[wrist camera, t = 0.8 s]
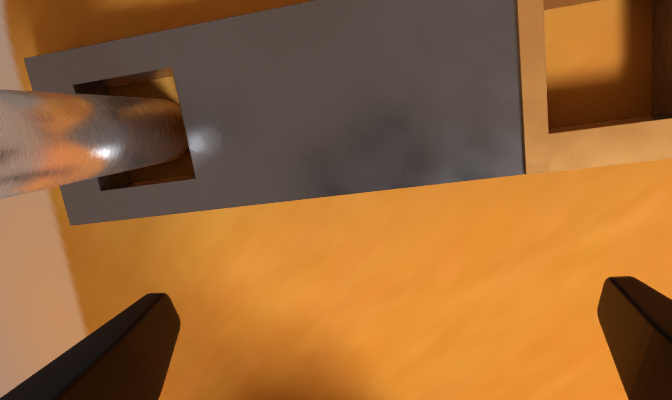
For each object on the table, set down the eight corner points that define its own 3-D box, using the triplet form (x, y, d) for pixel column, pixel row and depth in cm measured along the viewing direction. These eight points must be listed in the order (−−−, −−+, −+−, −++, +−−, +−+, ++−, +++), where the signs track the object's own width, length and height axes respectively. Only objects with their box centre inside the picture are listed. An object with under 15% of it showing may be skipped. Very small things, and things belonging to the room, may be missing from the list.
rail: (102, 214, 25) (67, 226, 22) (62, 63, 23) (20, 58, 21) (707, 143, 19) (756, 148, 17) (715, -62, 18) (770, -93, 15)
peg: (187, 167, 23) (-96, 244, 10) (130, 154, 24) (-219, 210, 10) (194, 105, 23) (-105, 97, 9) (136, 92, 23) (-237, 65, 9)
